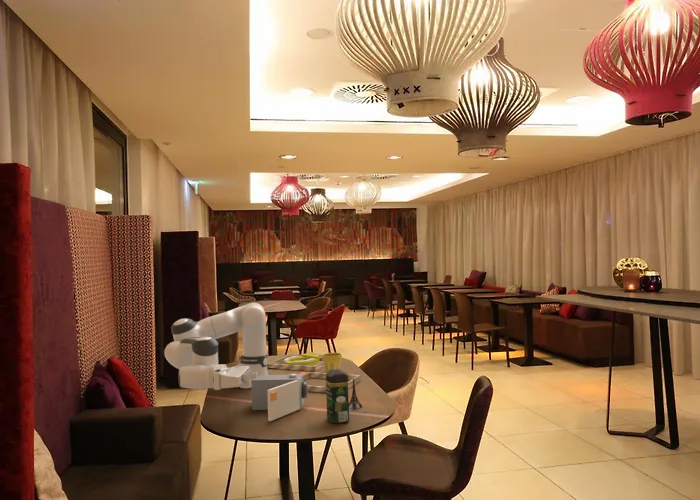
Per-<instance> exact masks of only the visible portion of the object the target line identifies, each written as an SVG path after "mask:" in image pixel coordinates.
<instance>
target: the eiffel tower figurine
mask: <svg viewBox="0 0 700 500" xmlns="http://www.w3.org/2000/svg"><path fill="white" fill-rule="evenodd" d="M354 380H355V379H354V378H353V386H352V393H351V397H350V400H349V414H351V413H352V414H353V413H355V411H358V410H360V409H363V408H364V406H363V405H362V403H360V400H359V399H358V396H357V393H356V384H355V381H354ZM361 413H364V411H358V414H361Z"/></svg>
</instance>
